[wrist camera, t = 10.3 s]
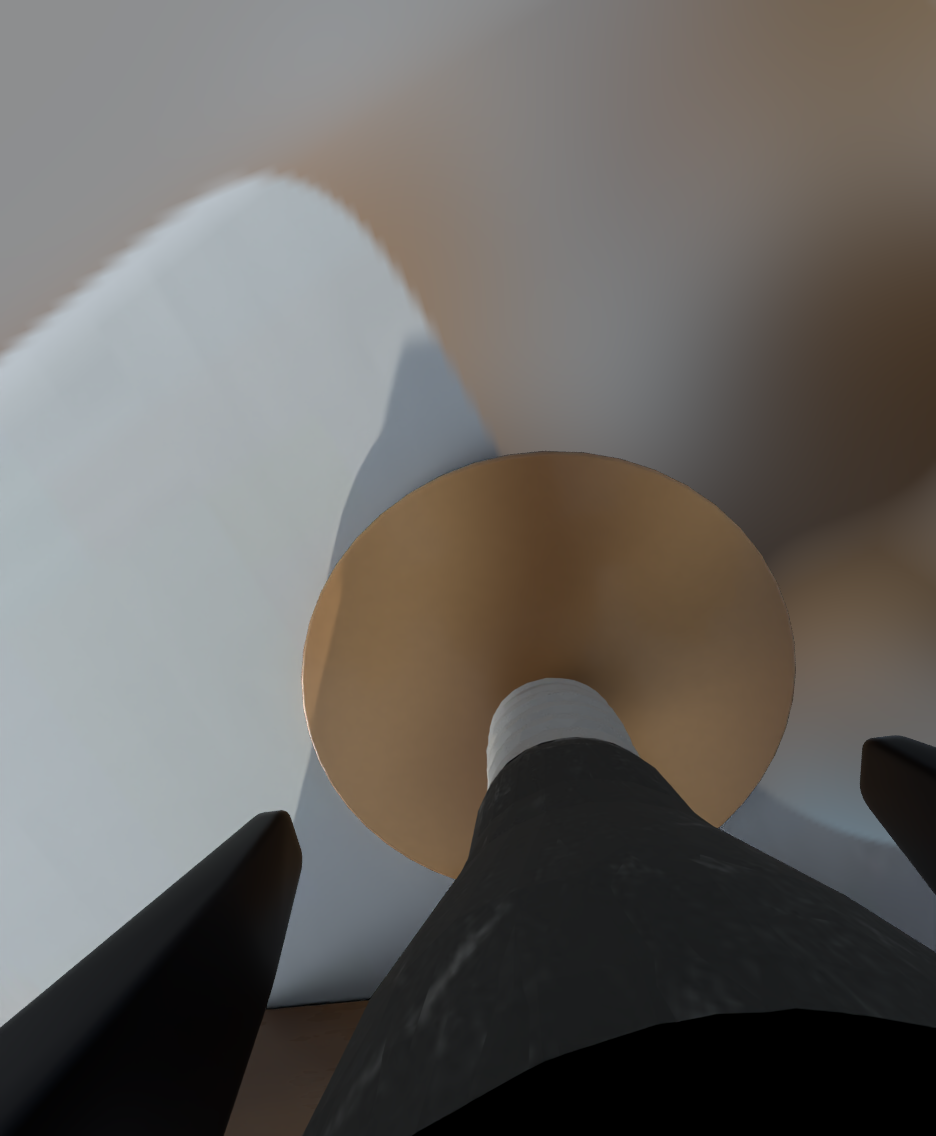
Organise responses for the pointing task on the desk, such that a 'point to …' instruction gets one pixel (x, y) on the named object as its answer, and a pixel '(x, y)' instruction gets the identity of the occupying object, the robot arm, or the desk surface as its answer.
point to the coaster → (542, 639)
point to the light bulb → (633, 970)
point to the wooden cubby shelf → (291, 1067)
